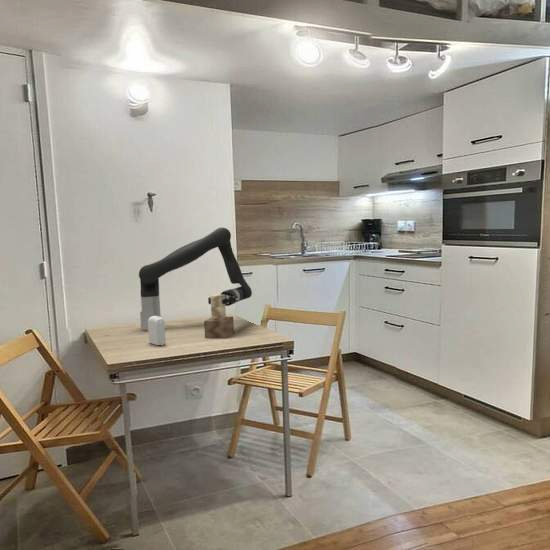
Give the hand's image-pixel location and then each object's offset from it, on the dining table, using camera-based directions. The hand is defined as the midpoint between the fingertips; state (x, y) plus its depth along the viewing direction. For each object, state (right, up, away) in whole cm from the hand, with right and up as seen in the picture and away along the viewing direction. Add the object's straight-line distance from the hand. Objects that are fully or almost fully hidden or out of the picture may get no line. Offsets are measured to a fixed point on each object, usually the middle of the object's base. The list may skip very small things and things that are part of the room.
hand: (216, 301), depth 215 cm
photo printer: (-25, -18, -10) cm, 32 cm away
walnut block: (+1, -16, +3) cm, 16 cm away
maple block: (+1, -8, +2) cm, 8 cm away
